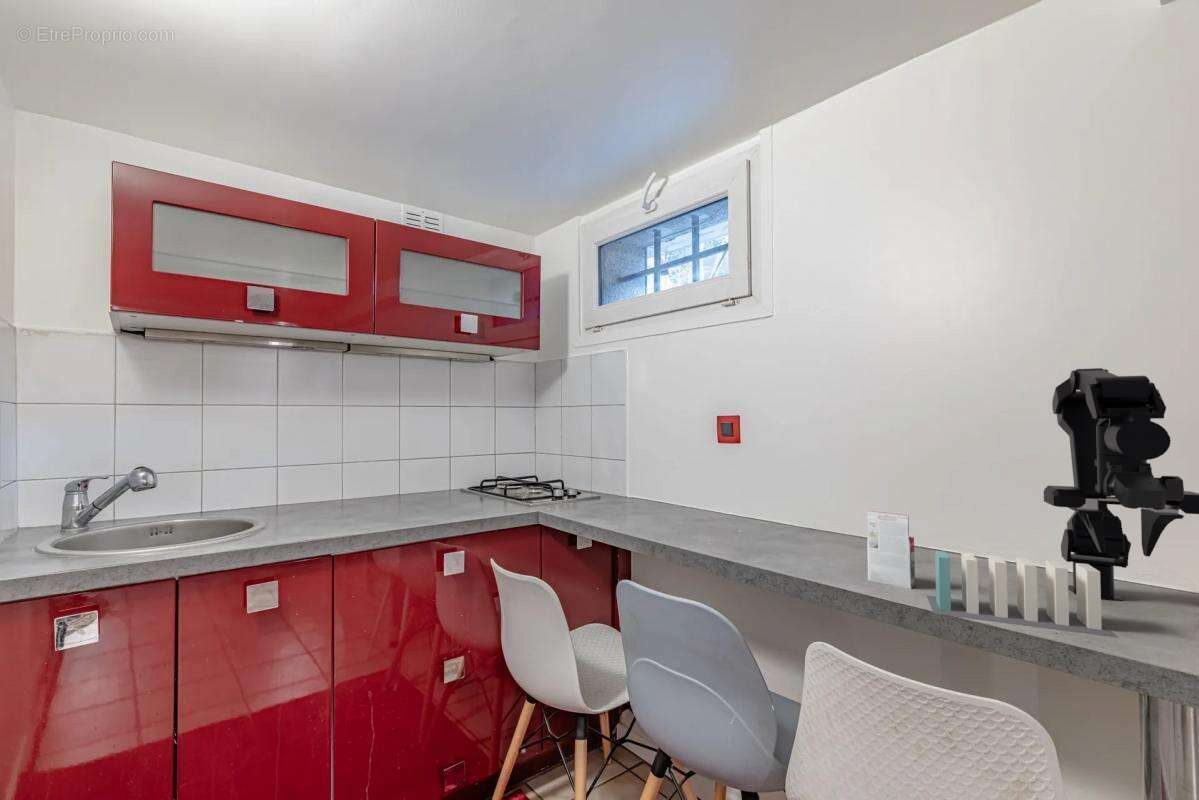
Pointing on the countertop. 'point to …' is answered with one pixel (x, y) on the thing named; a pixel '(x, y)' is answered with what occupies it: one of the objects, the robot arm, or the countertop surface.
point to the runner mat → (1018, 617)
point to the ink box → (890, 550)
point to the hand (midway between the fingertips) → (1123, 554)
